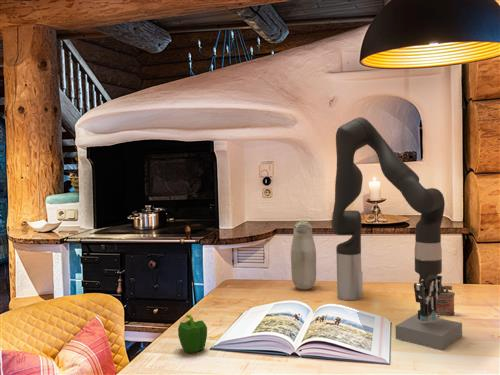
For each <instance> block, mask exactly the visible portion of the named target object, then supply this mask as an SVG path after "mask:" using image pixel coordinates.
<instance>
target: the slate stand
mask: <svg viewBox="0 0 500 375" xmlns="http://www.w3.org/2000/svg"><path fill="white" fill-rule="evenodd" d="M462 337H463V323H462V322H461V321H460V322H458V321H454V320H450V319H444V318H441V317H437V318H436V320H431V321H421V320H419V319H418V313H416V314H414V315H412V316H410V317H408V318H407V319H404V320H403V321H401V322H400V323H397V324H395V339H396V340H399V341H404V342H407V343H411V344H416V345H420V346H424V347H428V348H432V349H436V350H440V351H443V350H445V349H446V348H448V347H450V345H453V343H454V342H456V341H457V340H459V339H461V338H462Z"/></svg>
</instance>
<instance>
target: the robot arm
mask: <svg viewBox="0 0 500 375" xmlns="http://www.w3.org/2000/svg"><path fill="white" fill-rule="evenodd" d="M367 145H368V146H369V147H370V148H371V149H373V151H374V152H375V154H376V156H377V158H378V162H379V166H380V170H381V172H382V175H384V177H385V178H386V180H387V181H388V182H390V183H391V184H392V185H393V186H394V187H395V188H396V189H397V190H398V191H399V192H400V194H401V195H402V197H403V198H404V200H405V201H406V203H407V204H408V205H409V206H410V207H411V208H412V209H413V210H414V211H415V212H417V213H420V219H419V221H417V222H416V223H415V230H414V231H415V233H414V234H415V237H414V238H415V244H414V271H415V273H416V274H418V275H419V277H418V282H415V283H414V284H413V290H414V296H415V303H418V304H419V310H420V315H421V316H425V317H427V316H428V301H429V297H430V296H431V292H432V287H433V289H435V290H437V292H436V296H434V297H433V308H434V311H437V300H436V299H438V296H440V293H441V285H442V282H443V276H442V275H441V274H442V273H443V265H442V264H443V258H442V257H443V252H442V251H443V249H442V233H441V232H442V230H441V226H442V222H443V218H444V212H445V204H446V203H445V202H446V201H445V197H444V195H443V192H441V190H439V189H438V188H436V187H435V188H434V187H431V188H429V187H428V188H425V187H424V186H423V185H422V184H421V182H420V176H419V175H418V174H417V173H416V172H415V171H414V170H413V169H412V168H411V167H410V166H408V165H407V163H405V162H404V161H403V160H402V159H401V158H400V157H399V156H398V154H396V152H394V151H393V149H392V148H391V147H390V146H389V143H388V142H387V141H386V140H385V139H384V138H383V137H382V135H381V134H380V133H379V131H378V130H377V129H376V128H375V126H374V125H373V124H372V123H371V122H370V121H369V120H368V119H366V118H365V117H360V116H359V117H355V118H354V119H352V120H350V121H348V122H345V123H344V124H341V125H340V126H339V127H338V128H337V130H336V133H335V148H336V170H335V171H336V172H335V181H334V189H335V190H334V204H333V212H332V217H331V229H332V231H333V233H334V234H335V235H338V236H351V237H350V238H349V239H347V240H346V241H344V242H341V243H339V244H337V245H336V248H335V249H336V250H335V251H336V254H335V255H336V295H337V298H338V299H340V300H344V301H358V300H361V299H362V298H363V294H364V291H363V288H364V287H363V271H362V215H361V212H360V211H359V210H347V208H348V207H350V206H351V205H352V204H353V203H354V202H355V201H356V200H357V199H358V198H359V197H360V195H361V192H362V189H363V188H362V187H363V173H362V171H361V169H360V168H359V167H358V165H357V164H356V163H355V154H356V152H357V151H358V150H359V149H361V148H364V147H366V146H367ZM424 291H425V292H428V293H425V292H424ZM425 296H426V299H425Z"/></svg>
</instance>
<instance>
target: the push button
mask: <svg viewBox="0 0 500 375" xmlns="http://www.w3.org/2000/svg"><path fill="white" fill-rule="evenodd" d="M424 292H425V291H424ZM436 292H437V290H435V289H433V287H432V292H431V296H430V297H429V301H428V316H427V317H425V316H421V315H420V309H419V310H417V314H418V319H419V320H421V321H431V320H436V318H440V316H439V315H437V314H439V313H436V311H434V308H433V297H434V296H436ZM425 293H428V292H425ZM425 299H426V296H425Z"/></svg>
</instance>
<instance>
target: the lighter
mask: <svg viewBox="0 0 500 375" xmlns="http://www.w3.org/2000/svg"><path fill="white" fill-rule="evenodd" d="M455 296H456V295H455V292H453V286H452V285H449V284H448V285H443V284H441V293H440V296H438V299H436V300H437V311H436V313H439V314H437V315H436V316H439V317H454V316H455V315H456V314H455V313H456V312H455Z"/></svg>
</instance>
